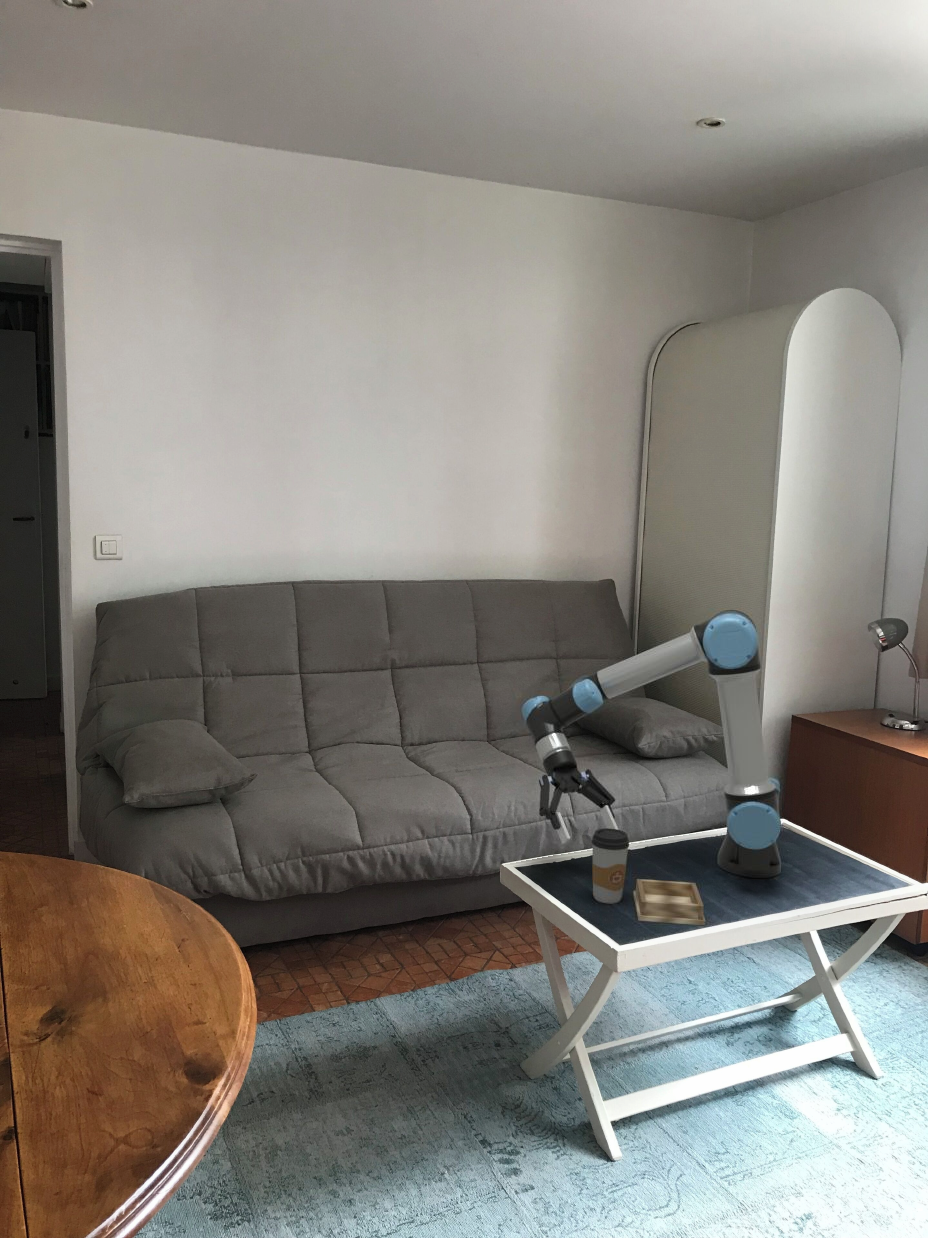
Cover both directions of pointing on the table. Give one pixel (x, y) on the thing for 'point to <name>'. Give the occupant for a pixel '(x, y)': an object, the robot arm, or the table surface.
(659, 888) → the open wooden box
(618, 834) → the coffee cup
